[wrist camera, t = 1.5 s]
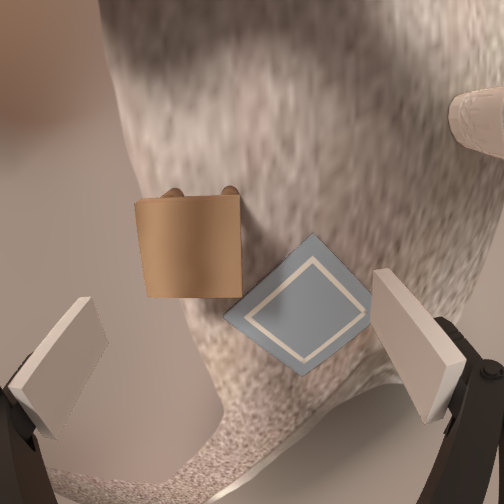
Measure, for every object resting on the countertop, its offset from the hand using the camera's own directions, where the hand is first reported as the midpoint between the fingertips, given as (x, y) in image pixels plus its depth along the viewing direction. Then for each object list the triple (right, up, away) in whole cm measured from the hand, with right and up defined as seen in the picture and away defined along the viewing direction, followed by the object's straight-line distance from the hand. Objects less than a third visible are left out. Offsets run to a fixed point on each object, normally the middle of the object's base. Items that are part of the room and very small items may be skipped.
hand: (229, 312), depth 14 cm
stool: (-4, +6, +19) cm, 20 cm away
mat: (+8, -5, +23) cm, 24 cm away
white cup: (+26, +18, +14) cm, 35 cm away
